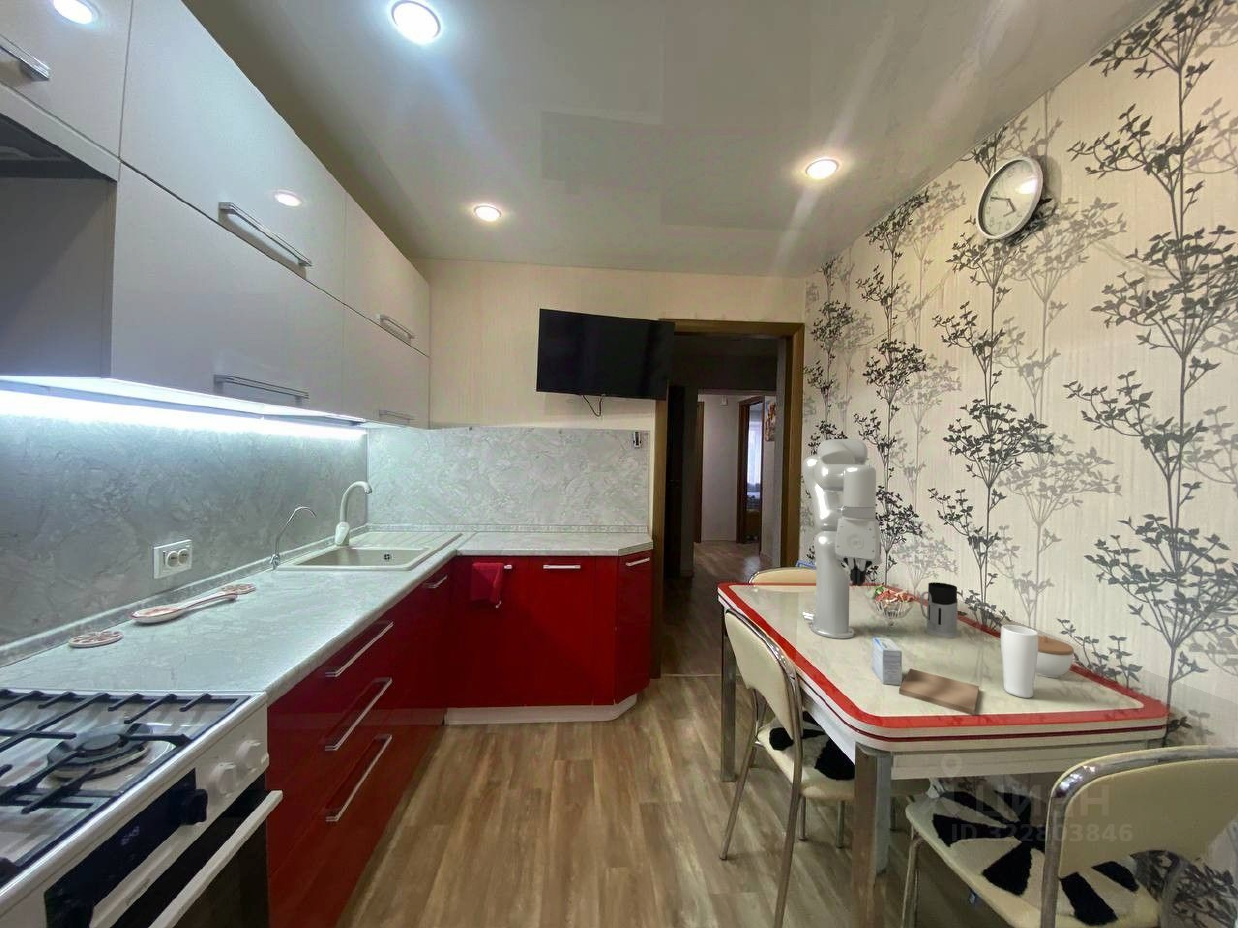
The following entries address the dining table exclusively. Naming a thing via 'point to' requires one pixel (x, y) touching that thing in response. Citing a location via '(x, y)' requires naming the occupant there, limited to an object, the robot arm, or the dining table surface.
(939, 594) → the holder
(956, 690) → the walnut board
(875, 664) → the medicine box
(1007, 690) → the white tall cup
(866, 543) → the robot arm
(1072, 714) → the dining table surface
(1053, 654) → the lidded jar
